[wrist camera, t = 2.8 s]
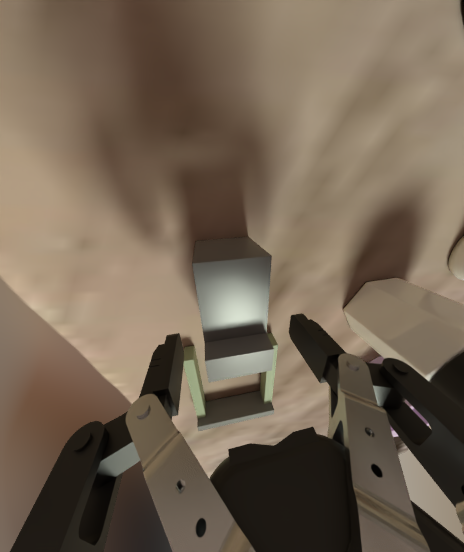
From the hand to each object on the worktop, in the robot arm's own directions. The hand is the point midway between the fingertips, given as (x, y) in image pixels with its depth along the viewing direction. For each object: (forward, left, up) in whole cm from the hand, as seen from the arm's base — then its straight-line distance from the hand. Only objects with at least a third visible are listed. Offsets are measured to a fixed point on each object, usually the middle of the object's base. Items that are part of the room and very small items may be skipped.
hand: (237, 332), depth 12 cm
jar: (+5, +20, -7) cm, 22 cm away
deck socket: (+14, 0, -7) cm, 16 cm away
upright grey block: (-1, 0, -7) cm, 7 cm away
